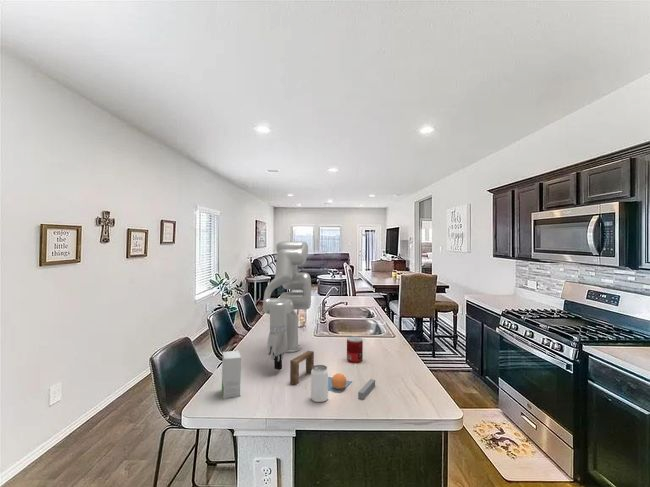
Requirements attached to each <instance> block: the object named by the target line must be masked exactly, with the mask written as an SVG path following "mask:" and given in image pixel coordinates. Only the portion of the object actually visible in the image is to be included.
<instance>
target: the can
mask: <svg viewBox="0 0 650 487" xmlns="http://www.w3.org/2000/svg"><path fill="white" fill-rule="evenodd" d="M328 377H329V370H328V366H326V365H324V364H316V365H314V366H313V367H312V371H311V374H310V379H311V380H310V382H311V383H310V398H311V401H313V402H315V403H324V402H326V401H327V400H328V398H329V391H328Z"/></svg>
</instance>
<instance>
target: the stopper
mask: <svg viewBox="0 0 650 487" xmlns="http://www.w3.org/2000/svg"><path fill="white" fill-rule="evenodd" d="M375 387H376V379H374V378H373V379H372V378H370V379H369V380H368V381H367V382H366V383H365V384H364V385H363V386H362V387H361V389H359V391H358V393H357V399H359V400H364V399H365V398H366V397H367V396H368V395H369V393H371V391H372V390H374V388H375Z"/></svg>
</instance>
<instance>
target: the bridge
mask: <svg viewBox="0 0 650 487" xmlns="http://www.w3.org/2000/svg"><path fill="white" fill-rule="evenodd" d="M314 351H315V350H314ZM314 351H313V350H307V351H305V352H303V353H301V354H299V355H297V356H296V357H294V358H293V359H291V360H290V361H289V366H290V367H289V368H290V369H289V376H290V377H289V382H290V384H291V385H293V386H294V385H295V386H297V385H299V383H300V382H299V380H300V369H299V368H300V363H301V362H303V361H304V360H305V374H309V375H311V371H312V367H313V366H315V365H314V364H315V363H314V361H315V360H314V359H315V355H314V353H315V352H314Z"/></svg>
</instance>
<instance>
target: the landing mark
mask: <svg viewBox="0 0 650 487" xmlns="http://www.w3.org/2000/svg"><path fill="white" fill-rule="evenodd" d="M332 378H333V376H332V377H331V376H328V392H334V393H337V394H341V393H342V392H343V391H344V390H345V389H347V388H348V386H349V385H351V383H353V381H352V380H351V381H350V380H347V379H346V385H345V387H344V388H342V389H336V388H335V387H334V386H333V385H332Z"/></svg>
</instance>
